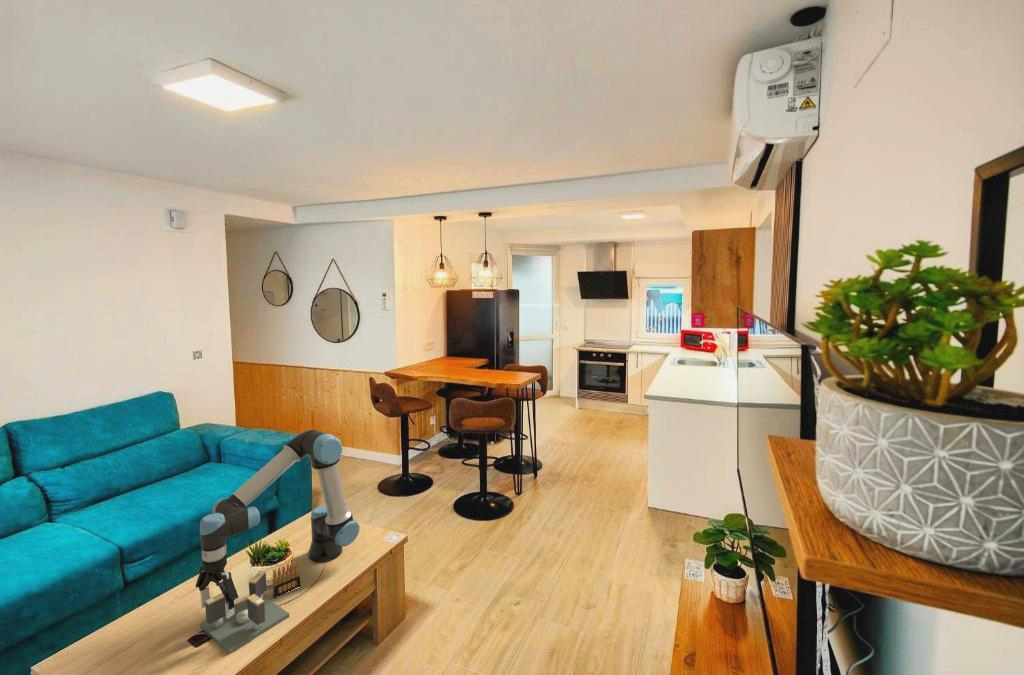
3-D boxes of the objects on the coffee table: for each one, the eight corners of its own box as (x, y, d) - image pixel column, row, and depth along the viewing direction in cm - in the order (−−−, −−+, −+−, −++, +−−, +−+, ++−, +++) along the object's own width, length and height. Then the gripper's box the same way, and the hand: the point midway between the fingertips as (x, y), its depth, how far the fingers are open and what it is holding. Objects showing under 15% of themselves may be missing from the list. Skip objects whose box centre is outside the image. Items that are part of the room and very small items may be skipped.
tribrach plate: (259, 595, 191) (258, 586, 190) (289, 616, 179) (288, 607, 178) (200, 628, 173) (199, 617, 172) (229, 654, 161) (228, 643, 160)
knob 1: (227, 618, 175) (225, 590, 174) (230, 622, 174) (229, 593, 172) (206, 629, 170) (204, 600, 169) (210, 633, 168) (208, 603, 167)
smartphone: (185, 640, 167) (228, 614, 180) (186, 641, 167) (228, 615, 180) (196, 647, 163) (239, 621, 176) (196, 649, 163) (239, 622, 176)
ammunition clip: (274, 598, 189) (272, 571, 188) (272, 596, 191) (271, 569, 189) (301, 586, 197) (299, 560, 195) (299, 584, 198) (298, 558, 197)
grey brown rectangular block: (257, 609, 181) (255, 581, 179) (249, 609, 181) (248, 581, 179) (267, 597, 187) (266, 570, 186) (260, 597, 188) (259, 570, 186)
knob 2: (248, 626, 172) (246, 597, 170) (256, 621, 174) (254, 592, 173) (258, 634, 168) (256, 604, 167) (266, 629, 170) (264, 600, 169)
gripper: (182, 554, 170) (186, 607, 173) (227, 571, 160) (230, 627, 163) (202, 543, 177) (206, 595, 179) (247, 559, 167) (250, 614, 170)
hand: (217, 610), depth 171 cm, fingers open, 13 cm apart
